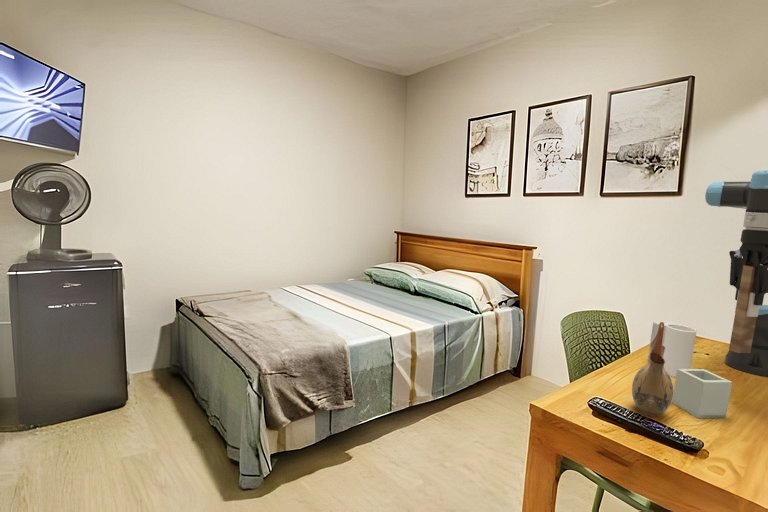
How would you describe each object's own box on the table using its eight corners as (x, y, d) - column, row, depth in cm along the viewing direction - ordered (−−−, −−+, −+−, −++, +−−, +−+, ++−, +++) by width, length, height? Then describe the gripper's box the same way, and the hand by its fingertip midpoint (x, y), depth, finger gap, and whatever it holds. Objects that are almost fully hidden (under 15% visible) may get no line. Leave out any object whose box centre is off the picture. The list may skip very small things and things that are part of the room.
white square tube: (697, 402, 117) (703, 368, 116) (725, 417, 109) (732, 382, 108) (671, 402, 116) (677, 369, 115) (698, 418, 108) (704, 382, 106)
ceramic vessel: (669, 432, 100) (685, 333, 97) (626, 419, 105) (640, 325, 102) (668, 406, 114) (682, 319, 110) (631, 396, 119) (643, 312, 115)
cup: (694, 379, 133) (702, 332, 131) (666, 376, 135) (673, 329, 133) (681, 370, 141) (688, 325, 139) (655, 366, 143) (662, 322, 141)
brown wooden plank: (741, 349, 116) (756, 265, 112) (750, 352, 113) (765, 267, 110) (728, 349, 115) (743, 265, 112) (737, 352, 113) (752, 266, 109)
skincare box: (665, 360, 150) (671, 320, 148) (680, 366, 144) (686, 326, 142) (646, 360, 148) (652, 321, 146) (660, 367, 143) (667, 326, 141)
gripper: (721, 226, 117) (708, 307, 120) (780, 231, 101) (763, 323, 105) (744, 227, 118) (730, 307, 121) (806, 232, 102) (788, 323, 106)
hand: (746, 314), depth 113 cm, fingers closed on brown wooden plank, 2 cm apart
